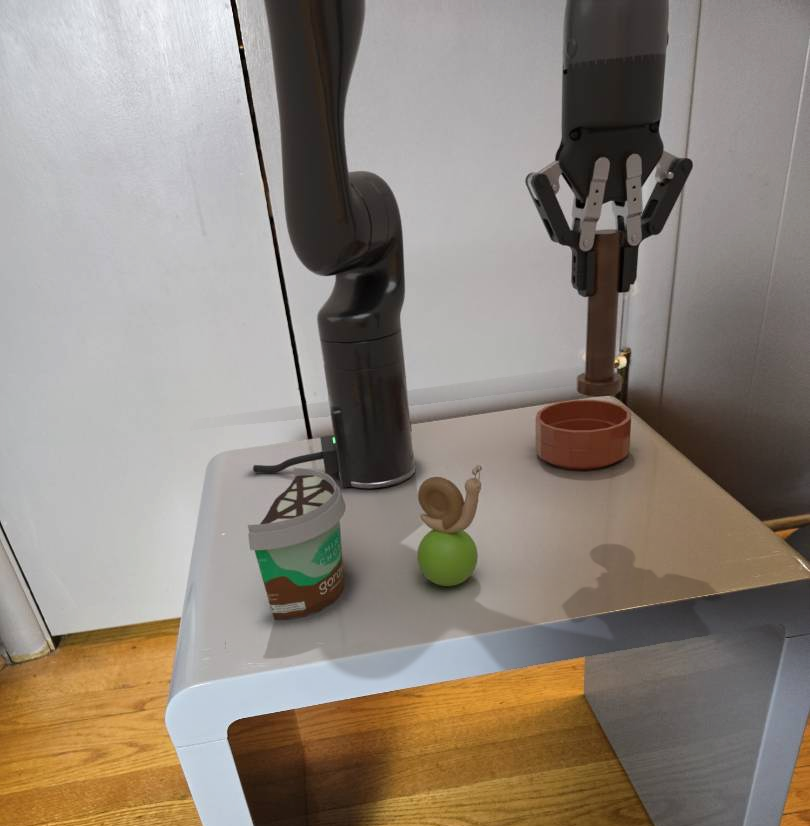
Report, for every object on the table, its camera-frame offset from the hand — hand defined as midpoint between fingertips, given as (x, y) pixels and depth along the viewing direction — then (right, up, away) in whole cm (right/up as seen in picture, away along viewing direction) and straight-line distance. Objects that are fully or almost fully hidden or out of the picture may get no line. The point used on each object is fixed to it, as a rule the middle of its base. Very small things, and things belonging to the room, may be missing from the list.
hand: (602, 292), depth 64 cm
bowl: (+5, -11, +26) cm, 29 cm away
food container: (-25, -26, +5) cm, 36 cm away
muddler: (+1, -8, +4) cm, 9 cm away
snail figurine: (-13, -25, +4) cm, 29 cm away
